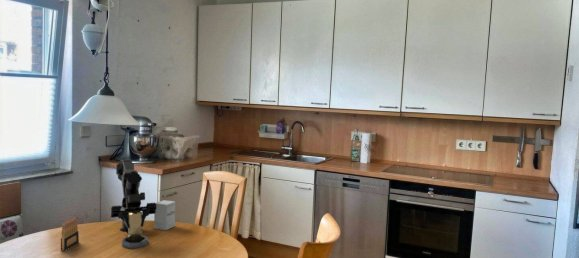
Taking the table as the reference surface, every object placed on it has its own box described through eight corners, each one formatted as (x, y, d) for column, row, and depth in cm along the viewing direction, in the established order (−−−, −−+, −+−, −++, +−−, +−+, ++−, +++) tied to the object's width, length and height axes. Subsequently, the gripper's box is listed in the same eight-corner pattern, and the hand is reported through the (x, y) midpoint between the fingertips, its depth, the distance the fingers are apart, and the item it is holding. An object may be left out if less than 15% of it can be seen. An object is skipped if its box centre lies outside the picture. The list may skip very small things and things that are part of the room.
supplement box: (166, 230, 206) (166, 204, 205) (153, 228, 208) (153, 202, 207) (175, 226, 213) (175, 201, 212) (163, 224, 215) (163, 199, 214)
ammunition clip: (64, 251, 176) (64, 222, 175) (60, 250, 176) (60, 222, 175) (78, 242, 187) (78, 215, 186) (74, 242, 187) (74, 215, 186)
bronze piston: (127, 240, 187) (127, 212, 186) (140, 238, 190) (140, 210, 189) (129, 244, 183) (129, 215, 182) (143, 242, 186) (143, 213, 184)
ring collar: (116, 245, 184) (116, 240, 184) (136, 238, 194) (136, 233, 194) (133, 250, 179) (133, 245, 179) (153, 243, 188) (153, 238, 188)
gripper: (110, 187, 184) (112, 220, 175) (156, 184, 192) (160, 215, 183) (109, 201, 192) (111, 233, 183) (153, 198, 200) (156, 228, 191)
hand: (135, 227), depth 185 cm, fingers closed on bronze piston, 5 cm apart
